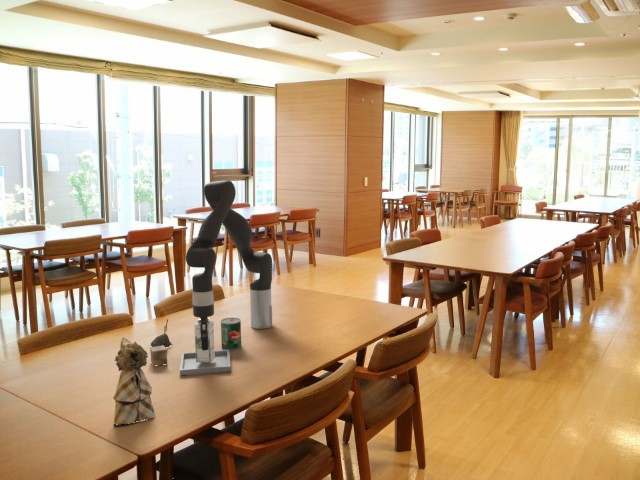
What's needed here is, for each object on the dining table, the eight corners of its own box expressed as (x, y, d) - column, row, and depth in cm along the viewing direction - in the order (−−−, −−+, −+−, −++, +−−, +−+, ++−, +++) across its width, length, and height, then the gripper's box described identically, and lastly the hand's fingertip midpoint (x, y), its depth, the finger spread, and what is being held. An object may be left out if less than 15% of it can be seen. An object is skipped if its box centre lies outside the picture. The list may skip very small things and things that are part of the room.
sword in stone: (144, 347, 239) (143, 317, 238) (160, 342, 246) (159, 314, 244) (161, 351, 233) (160, 322, 232) (176, 346, 240) (176, 317, 238)
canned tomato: (237, 351, 233) (236, 324, 231) (218, 349, 234) (217, 322, 233) (244, 344, 241) (243, 318, 239) (225, 343, 242) (224, 317, 240)
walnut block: (164, 360, 223) (163, 345, 222) (167, 365, 219) (166, 349, 218) (151, 362, 221) (150, 347, 220) (153, 367, 217) (152, 351, 216)
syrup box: (215, 357, 221) (213, 319, 218) (211, 363, 215) (209, 324, 213) (200, 357, 221) (198, 319, 219) (195, 362, 215) (193, 324, 213)
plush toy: (170, 402, 185) (147, 328, 180) (160, 424, 171) (135, 344, 166) (126, 412, 185) (102, 338, 180) (113, 435, 171) (86, 356, 167)
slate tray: (229, 355, 228) (229, 349, 228) (230, 372, 211) (230, 366, 211) (182, 358, 225) (182, 352, 225) (180, 376, 208) (179, 370, 208)
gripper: (213, 307, 208) (215, 352, 211) (213, 296, 222) (215, 339, 225) (191, 308, 207) (194, 354, 210) (193, 297, 221) (195, 340, 224)
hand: (205, 346), depth 217 cm, fingers closed on syrup box, 6 cm apart
